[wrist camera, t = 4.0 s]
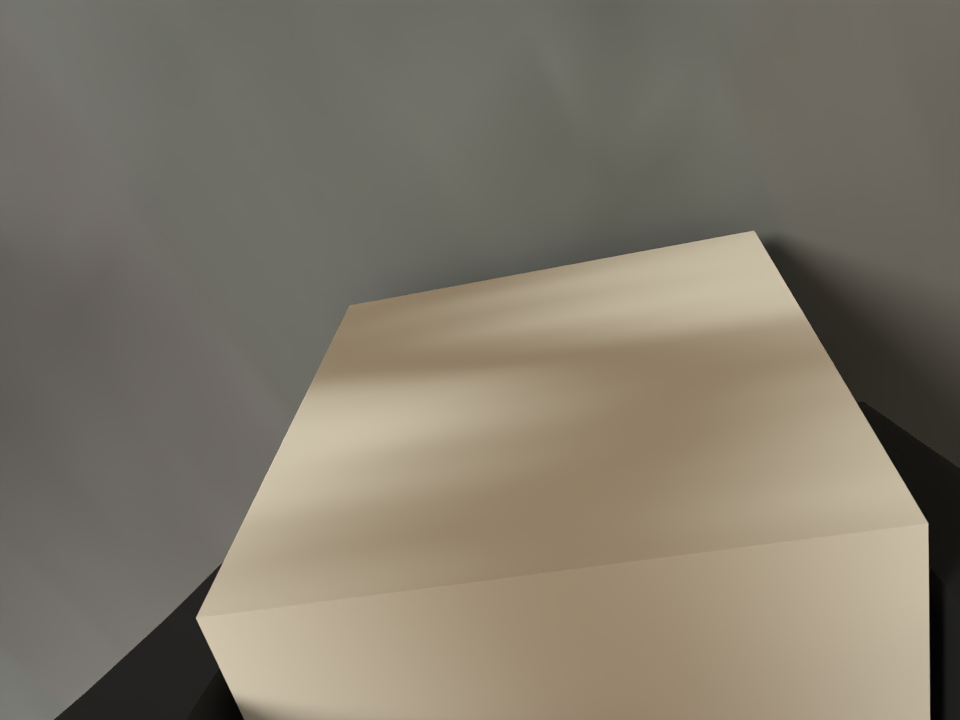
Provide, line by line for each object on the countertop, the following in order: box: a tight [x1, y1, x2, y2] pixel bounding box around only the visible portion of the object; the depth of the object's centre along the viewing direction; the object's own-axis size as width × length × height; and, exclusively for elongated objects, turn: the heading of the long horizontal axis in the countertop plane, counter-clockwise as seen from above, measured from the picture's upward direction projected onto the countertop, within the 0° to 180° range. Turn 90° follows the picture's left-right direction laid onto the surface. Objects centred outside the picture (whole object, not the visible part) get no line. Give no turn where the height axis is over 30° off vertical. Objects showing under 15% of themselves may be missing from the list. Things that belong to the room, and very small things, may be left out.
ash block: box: [196, 231, 930, 720], centre depth 9 cm, size 4×4×5 cm
